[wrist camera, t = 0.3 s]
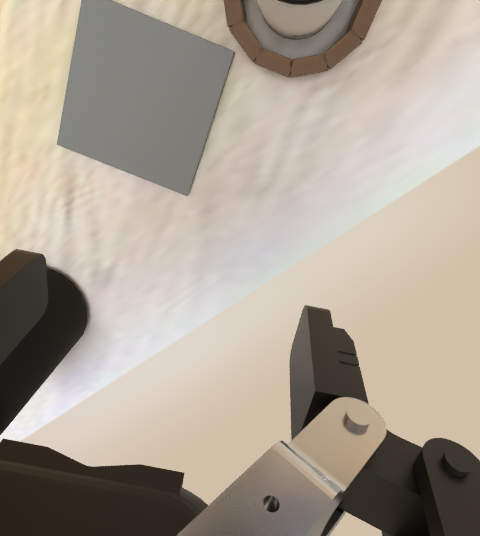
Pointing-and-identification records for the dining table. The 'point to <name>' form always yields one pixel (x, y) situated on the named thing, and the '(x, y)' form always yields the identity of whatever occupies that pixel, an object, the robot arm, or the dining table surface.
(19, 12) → the dining table surface
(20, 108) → the dining table surface
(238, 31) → the ring
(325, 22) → the travel mug
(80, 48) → the slate mat
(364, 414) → the robot arm
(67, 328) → the coffee jar
